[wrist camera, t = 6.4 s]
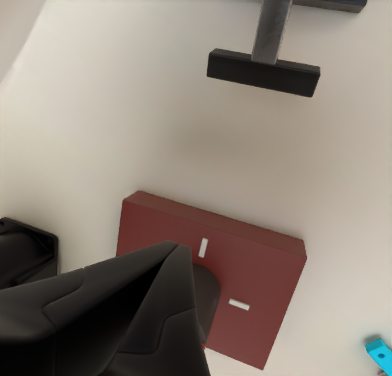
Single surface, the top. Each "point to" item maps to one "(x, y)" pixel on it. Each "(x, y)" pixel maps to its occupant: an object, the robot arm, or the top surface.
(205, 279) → the timer dial
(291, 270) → the dial panel
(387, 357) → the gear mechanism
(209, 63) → the lever
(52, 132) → the top surface
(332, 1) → the lever bracket
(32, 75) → the top surface
